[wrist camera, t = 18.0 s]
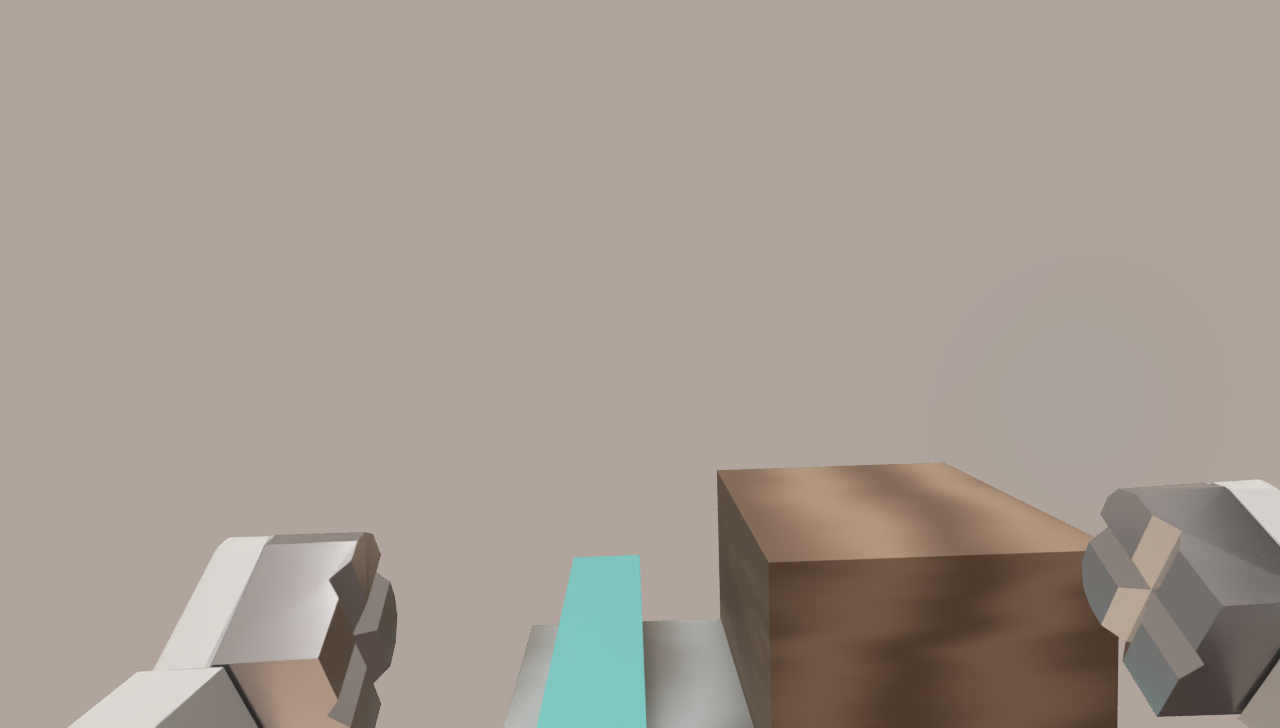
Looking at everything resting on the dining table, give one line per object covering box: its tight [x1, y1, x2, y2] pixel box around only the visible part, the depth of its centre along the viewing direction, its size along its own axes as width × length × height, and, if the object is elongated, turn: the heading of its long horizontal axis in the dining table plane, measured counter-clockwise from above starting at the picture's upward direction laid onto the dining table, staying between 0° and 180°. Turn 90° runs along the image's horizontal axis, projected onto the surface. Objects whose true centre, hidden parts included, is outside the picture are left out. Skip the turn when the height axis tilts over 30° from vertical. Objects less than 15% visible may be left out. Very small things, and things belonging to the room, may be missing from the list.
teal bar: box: [536, 555, 647, 728], centre depth 31 cm, size 4×24×4 cm, turn 1°
